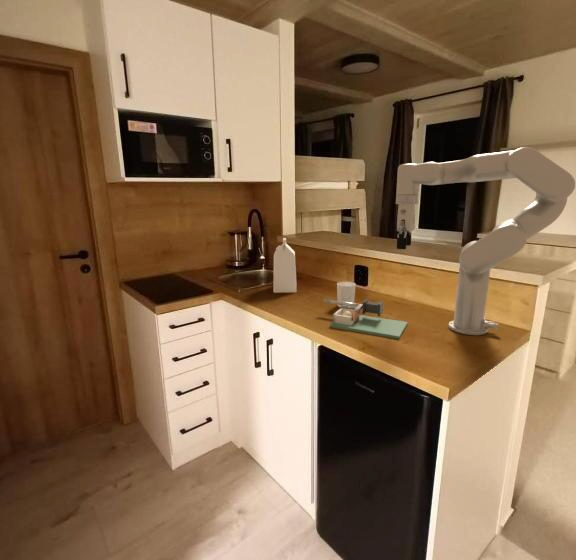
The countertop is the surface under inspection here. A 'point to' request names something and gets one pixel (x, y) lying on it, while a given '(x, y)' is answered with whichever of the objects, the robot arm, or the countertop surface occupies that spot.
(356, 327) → the board
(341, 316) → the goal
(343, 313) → the ball
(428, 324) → the countertop surface
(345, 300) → the white cup
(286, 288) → the milk
